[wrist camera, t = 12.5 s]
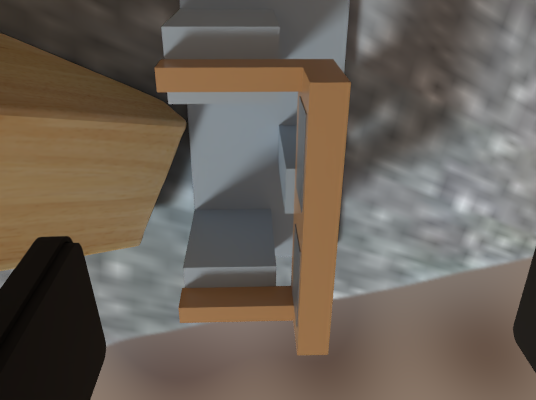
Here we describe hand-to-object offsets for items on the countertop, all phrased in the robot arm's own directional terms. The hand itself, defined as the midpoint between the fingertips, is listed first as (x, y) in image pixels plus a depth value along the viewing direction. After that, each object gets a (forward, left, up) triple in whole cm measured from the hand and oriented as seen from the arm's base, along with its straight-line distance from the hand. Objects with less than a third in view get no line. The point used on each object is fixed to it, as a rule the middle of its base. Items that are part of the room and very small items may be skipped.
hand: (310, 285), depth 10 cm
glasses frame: (+1, +7, -18) cm, 19 cm away
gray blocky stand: (0, +7, -27) cm, 28 cm away
